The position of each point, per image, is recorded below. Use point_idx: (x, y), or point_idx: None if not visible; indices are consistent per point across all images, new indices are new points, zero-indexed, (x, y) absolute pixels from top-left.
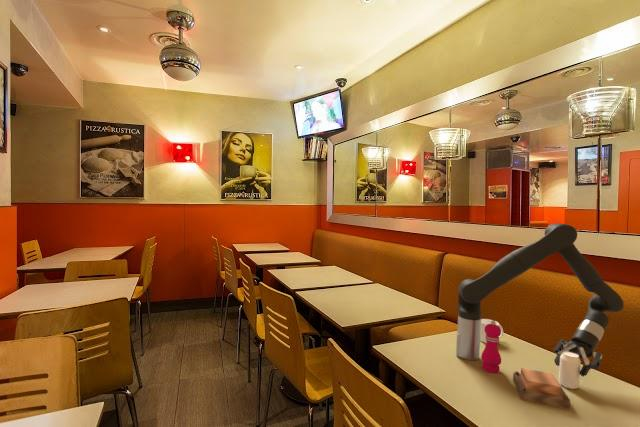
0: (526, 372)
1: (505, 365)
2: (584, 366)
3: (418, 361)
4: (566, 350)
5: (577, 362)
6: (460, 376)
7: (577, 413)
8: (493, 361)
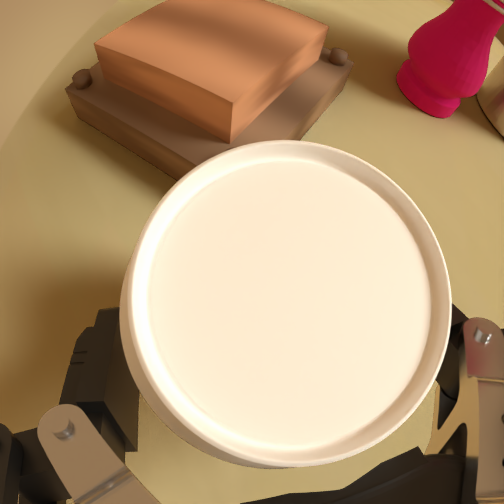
0: (276, 12)
1: (473, 180)
2: (86, 377)
3: (425, 6)
4: (484, 397)
5: (124, 285)
6: (359, 5)
7: (50, 125)
8: (413, 36)
